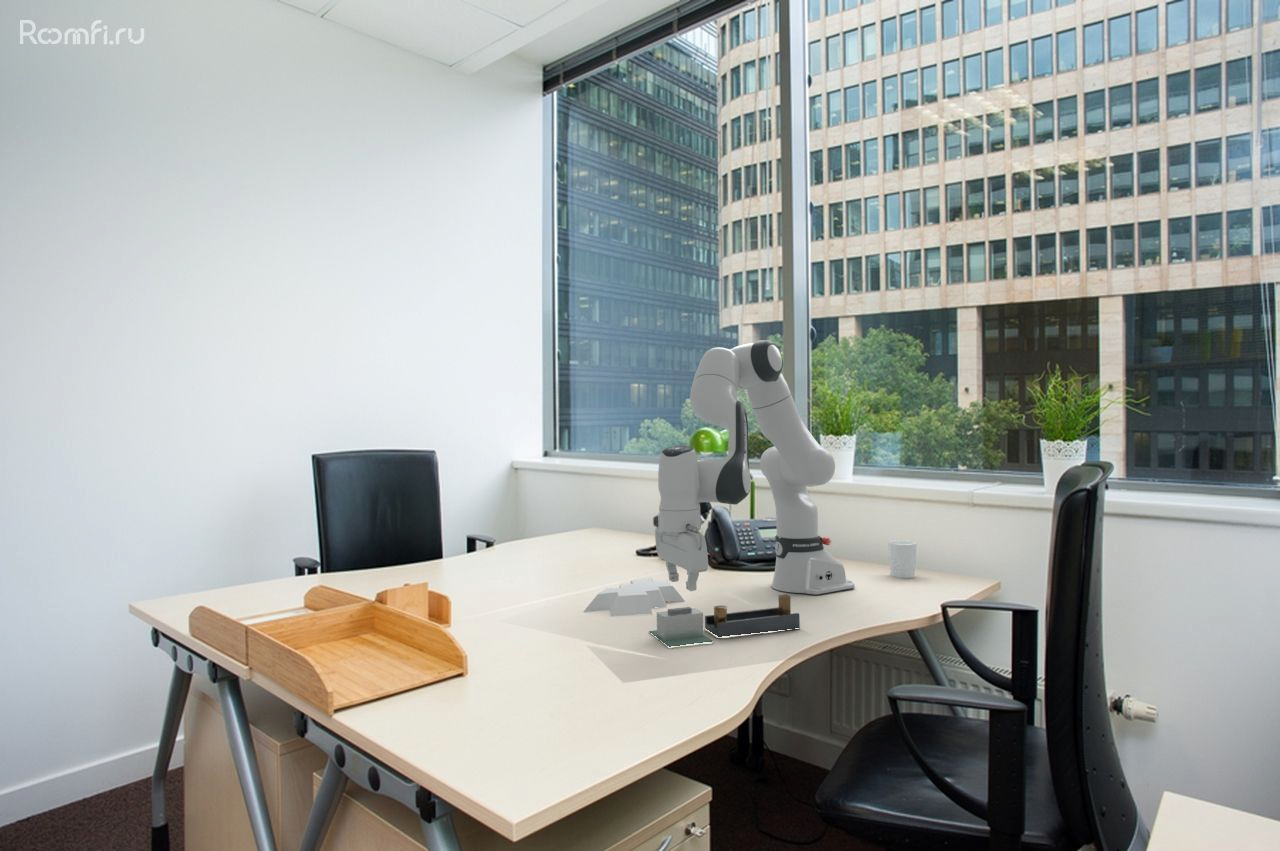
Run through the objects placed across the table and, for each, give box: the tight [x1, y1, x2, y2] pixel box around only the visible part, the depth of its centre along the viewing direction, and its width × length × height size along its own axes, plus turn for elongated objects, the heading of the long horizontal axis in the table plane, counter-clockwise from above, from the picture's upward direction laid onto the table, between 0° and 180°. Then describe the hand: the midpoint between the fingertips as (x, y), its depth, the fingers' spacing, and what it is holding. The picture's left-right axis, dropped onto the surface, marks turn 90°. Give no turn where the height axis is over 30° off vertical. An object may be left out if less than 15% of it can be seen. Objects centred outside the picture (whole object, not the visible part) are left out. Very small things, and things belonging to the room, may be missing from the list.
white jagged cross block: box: [583, 576, 686, 617], centre depth 197 cm, size 35×20×6 cm, turn 145°
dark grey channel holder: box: [704, 594, 801, 637], centre depth 173 cm, size 20×7×7 cm, turn 110°
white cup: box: [887, 539, 917, 579], centre depth 227 cm, size 8×8×10 cm
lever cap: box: [656, 606, 704, 641], centre depth 167 cm, size 9×4×6 cm, turn 110°
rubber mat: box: [648, 629, 714, 647], centre depth 167 cm, size 10×12×1 cm
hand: (682, 585), depth 167 cm, fingers open, 8 cm apart
